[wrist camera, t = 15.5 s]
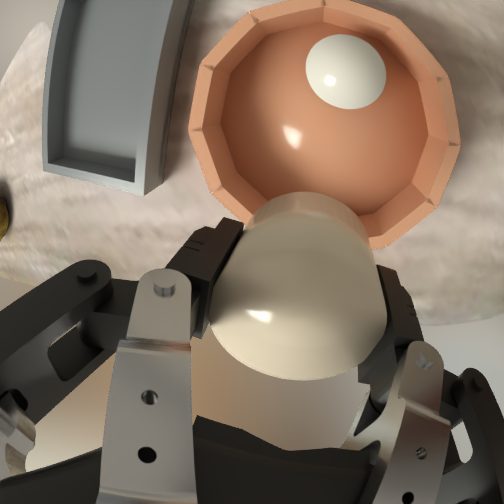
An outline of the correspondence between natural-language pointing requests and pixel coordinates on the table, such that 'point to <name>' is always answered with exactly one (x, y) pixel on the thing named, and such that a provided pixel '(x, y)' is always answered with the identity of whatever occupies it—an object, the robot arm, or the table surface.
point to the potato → (3, 218)
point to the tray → (112, 90)
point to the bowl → (324, 119)
